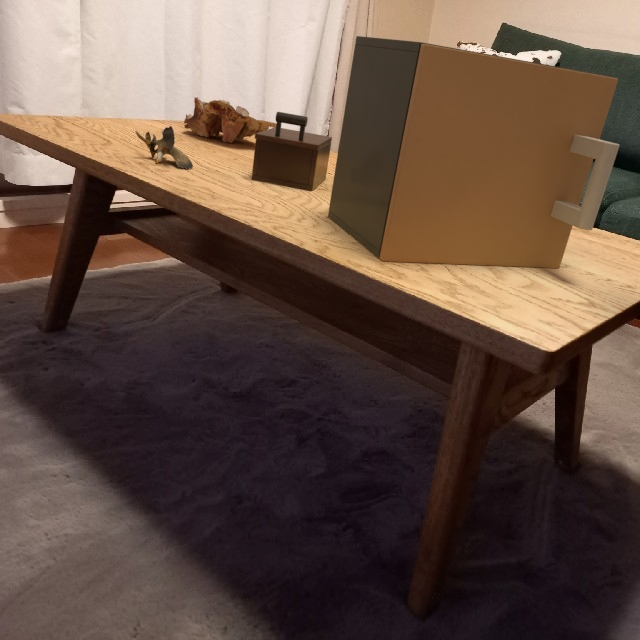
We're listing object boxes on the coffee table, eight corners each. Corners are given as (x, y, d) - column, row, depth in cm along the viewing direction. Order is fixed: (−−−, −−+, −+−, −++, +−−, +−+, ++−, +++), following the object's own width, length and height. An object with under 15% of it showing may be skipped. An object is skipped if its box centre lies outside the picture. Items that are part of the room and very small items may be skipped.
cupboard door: (590, 285, 79) (658, 83, 70) (404, 279, 70) (454, 47, 61) (554, 265, 85) (612, 77, 76) (378, 258, 76) (420, 43, 67)
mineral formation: (283, 148, 137) (291, 104, 137) (218, 121, 126) (227, 73, 127) (227, 160, 154) (235, 121, 155) (167, 137, 144) (175, 95, 144)
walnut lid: (317, 150, 103) (321, 120, 102) (254, 138, 105) (257, 109, 103) (331, 141, 116) (335, 115, 114) (275, 131, 117) (278, 105, 115)
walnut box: (312, 191, 107) (318, 149, 104) (251, 179, 108) (255, 138, 105) (325, 179, 118) (331, 141, 116) (270, 168, 119) (274, 131, 117)
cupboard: (553, 266, 85) (611, 76, 76) (377, 259, 76) (420, 42, 67) (480, 227, 101) (522, 65, 91) (327, 217, 91) (356, 35, 82)
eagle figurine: (127, 152, 107) (167, 153, 102) (140, 115, 108) (181, 114, 104) (156, 175, 113) (195, 176, 109) (169, 139, 115) (208, 139, 110)
